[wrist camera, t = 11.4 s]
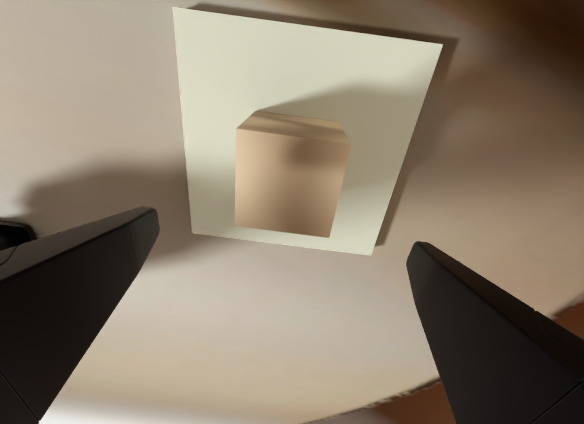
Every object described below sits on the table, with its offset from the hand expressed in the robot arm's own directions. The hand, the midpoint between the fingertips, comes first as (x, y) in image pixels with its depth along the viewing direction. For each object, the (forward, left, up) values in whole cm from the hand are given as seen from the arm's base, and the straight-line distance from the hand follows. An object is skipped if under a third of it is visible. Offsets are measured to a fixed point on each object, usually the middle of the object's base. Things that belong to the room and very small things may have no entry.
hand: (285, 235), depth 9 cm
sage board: (0, 0, -10) cm, 10 cm away
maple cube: (0, 0, -9) cm, 9 cm away
